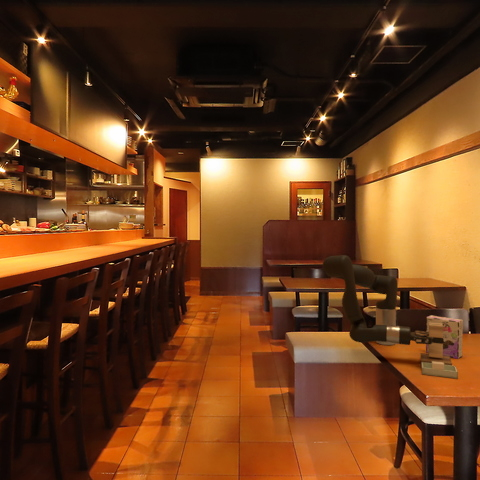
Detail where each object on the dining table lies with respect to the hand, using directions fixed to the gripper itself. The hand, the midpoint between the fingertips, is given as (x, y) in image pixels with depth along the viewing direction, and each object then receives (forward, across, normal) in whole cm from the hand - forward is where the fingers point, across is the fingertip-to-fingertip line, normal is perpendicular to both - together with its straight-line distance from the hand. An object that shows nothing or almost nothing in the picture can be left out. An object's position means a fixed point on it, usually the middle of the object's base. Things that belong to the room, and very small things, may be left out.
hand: (442, 339), depth 164 cm
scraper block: (-3, 0, +7) cm, 8 cm away
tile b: (-3, -12, +8) cm, 15 cm away
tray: (-2, -11, +11) cm, 16 cm away
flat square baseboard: (-3, -2, +11) cm, 11 cm away
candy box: (+2, +17, +11) cm, 20 cm away
